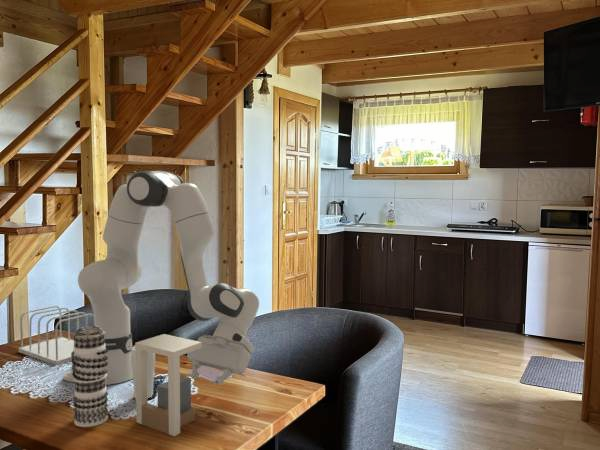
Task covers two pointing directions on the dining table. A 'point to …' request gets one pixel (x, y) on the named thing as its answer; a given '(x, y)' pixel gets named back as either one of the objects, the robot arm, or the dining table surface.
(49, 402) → the dining table surface
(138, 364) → the shelf
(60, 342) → the file sorter
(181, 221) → the robot arm
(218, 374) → the mobile phone
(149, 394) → the drinking glass
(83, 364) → the decorative candle
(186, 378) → the slate tile
